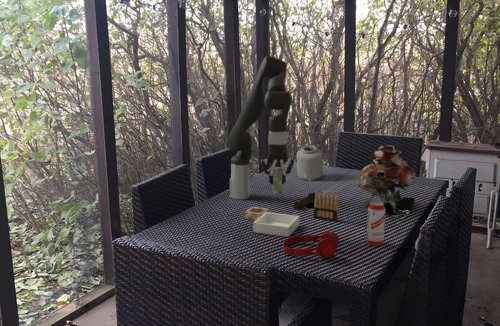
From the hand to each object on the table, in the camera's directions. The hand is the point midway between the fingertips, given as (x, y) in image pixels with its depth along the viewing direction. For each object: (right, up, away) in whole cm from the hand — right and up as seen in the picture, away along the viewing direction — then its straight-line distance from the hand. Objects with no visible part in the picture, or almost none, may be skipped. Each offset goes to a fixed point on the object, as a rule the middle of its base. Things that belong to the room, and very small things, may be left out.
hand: (277, 183), depth 201 cm
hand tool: (+15, -12, +37) cm, 42 cm away
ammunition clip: (+22, -16, +15) cm, 31 cm away
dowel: (0, -4, +1) cm, 4 cm away
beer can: (+36, -22, -12) cm, 44 cm away
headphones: (+11, -24, -19) cm, 33 cm away
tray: (0, -19, +4) cm, 19 cm away
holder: (-8, -15, +19) cm, 26 cm away
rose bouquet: (+52, -13, +31) cm, 62 cm away
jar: (+23, -1, +86) cm, 89 cm away
